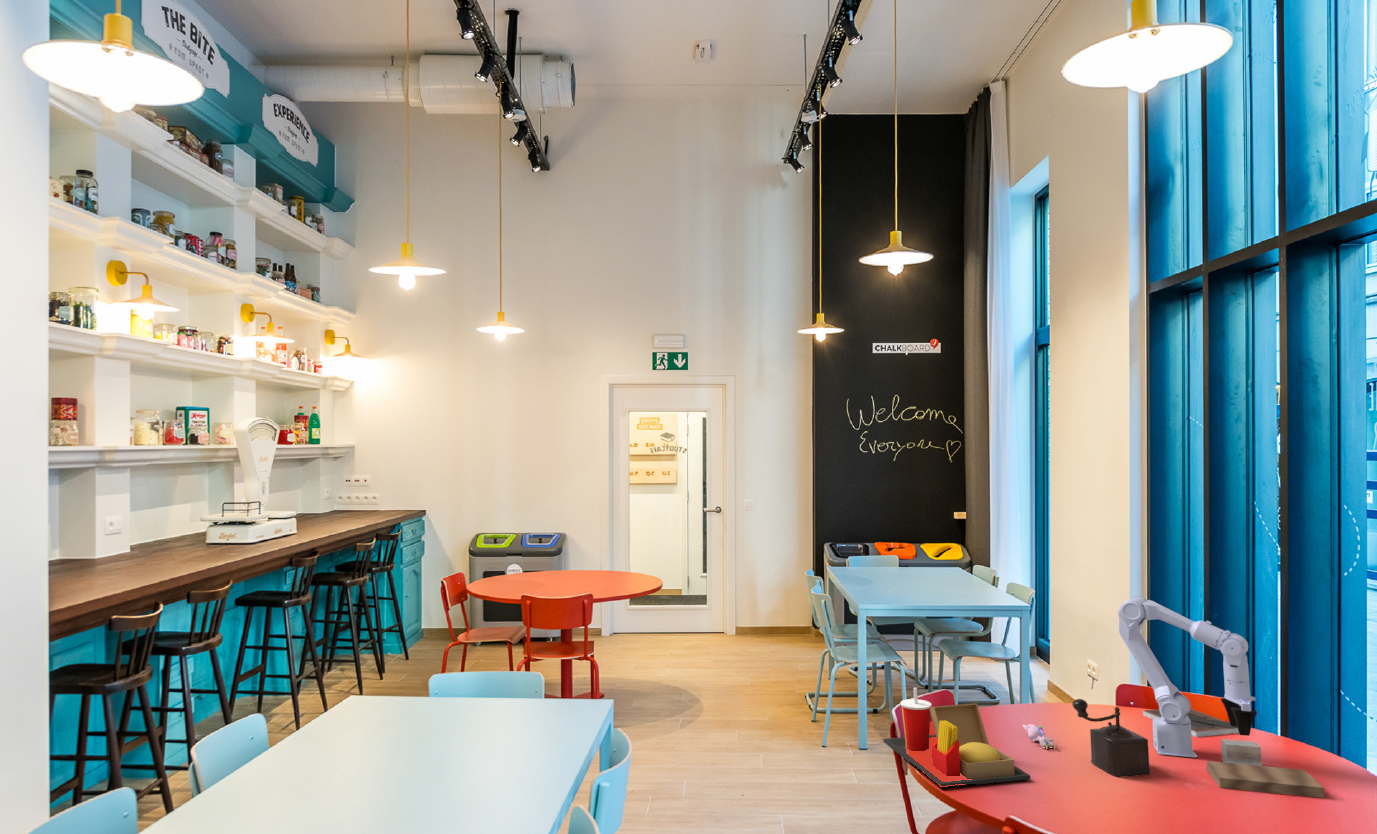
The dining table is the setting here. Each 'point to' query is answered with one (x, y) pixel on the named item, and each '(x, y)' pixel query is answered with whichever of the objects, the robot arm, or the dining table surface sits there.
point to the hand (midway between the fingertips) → (1239, 730)
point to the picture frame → (1201, 723)
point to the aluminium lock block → (1241, 752)
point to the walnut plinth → (1264, 779)
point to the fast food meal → (953, 743)
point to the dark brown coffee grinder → (1116, 746)
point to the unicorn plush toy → (1038, 735)
